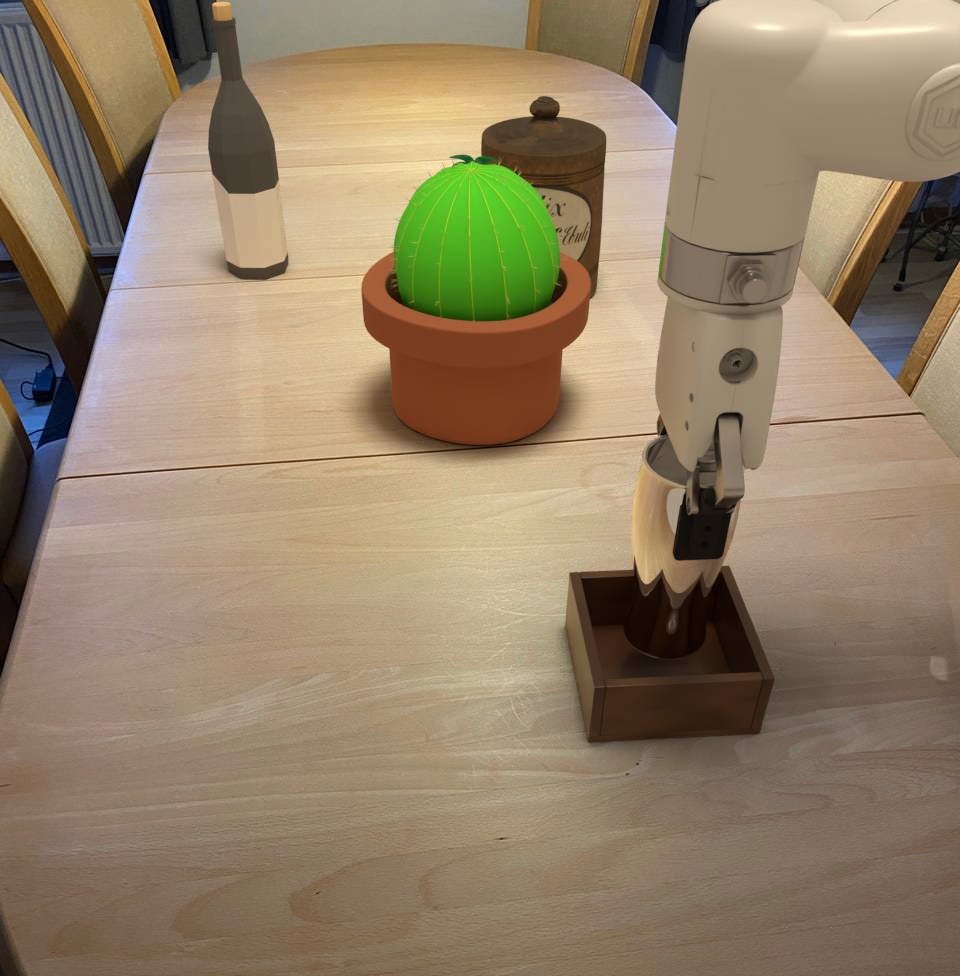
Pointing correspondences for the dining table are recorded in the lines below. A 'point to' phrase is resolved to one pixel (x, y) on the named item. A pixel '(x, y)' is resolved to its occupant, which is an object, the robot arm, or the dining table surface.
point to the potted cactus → (476, 306)
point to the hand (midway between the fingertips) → (684, 519)
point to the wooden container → (558, 173)
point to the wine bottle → (244, 166)
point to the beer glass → (667, 560)
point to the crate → (664, 666)
